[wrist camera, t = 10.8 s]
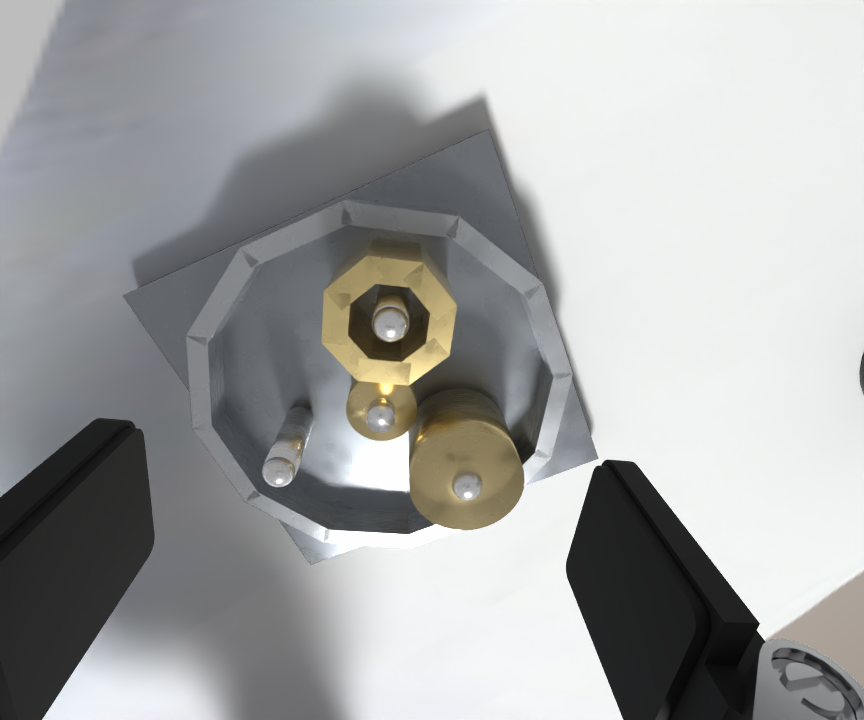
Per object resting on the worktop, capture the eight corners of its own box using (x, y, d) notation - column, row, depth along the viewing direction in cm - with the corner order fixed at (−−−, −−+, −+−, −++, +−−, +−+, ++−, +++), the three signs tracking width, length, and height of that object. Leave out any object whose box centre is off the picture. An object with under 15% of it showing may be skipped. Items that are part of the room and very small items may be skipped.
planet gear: (452, 247, 24) (463, 267, 20) (437, 349, 27) (444, 388, 22) (340, 233, 24) (325, 251, 19) (334, 338, 26) (320, 377, 21)
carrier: (589, 445, 31) (640, 523, 25) (314, 548, 33) (291, 645, 27) (483, 131, 24) (514, 119, 17) (137, 288, 26) (44, 332, 19)
